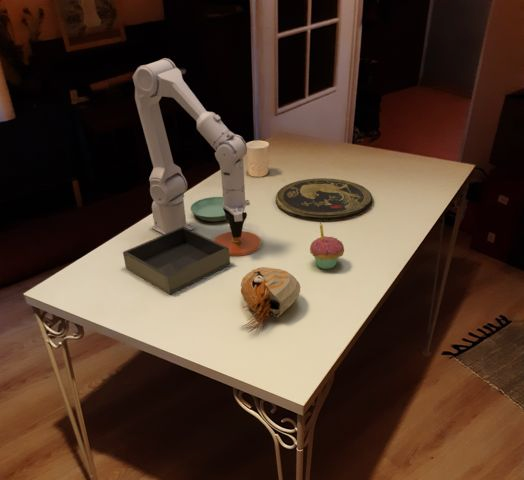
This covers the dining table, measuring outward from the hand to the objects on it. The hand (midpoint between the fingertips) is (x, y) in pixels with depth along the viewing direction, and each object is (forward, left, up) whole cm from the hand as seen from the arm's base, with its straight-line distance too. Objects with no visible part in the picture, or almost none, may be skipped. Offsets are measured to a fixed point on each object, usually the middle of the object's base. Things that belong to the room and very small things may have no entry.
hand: (236, 234), depth 153 cm
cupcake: (+25, +8, -3) cm, 26 cm away
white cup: (-33, +41, -3) cm, 53 cm away
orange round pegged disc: (0, 0, -3) cm, 3 cm away
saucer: (-19, +9, -3) cm, 21 cm away
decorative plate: (-1, +38, -3) cm, 38 cm away
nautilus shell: (+28, -18, -3) cm, 33 cm away
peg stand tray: (-3, -18, -3) cm, 19 cm away
